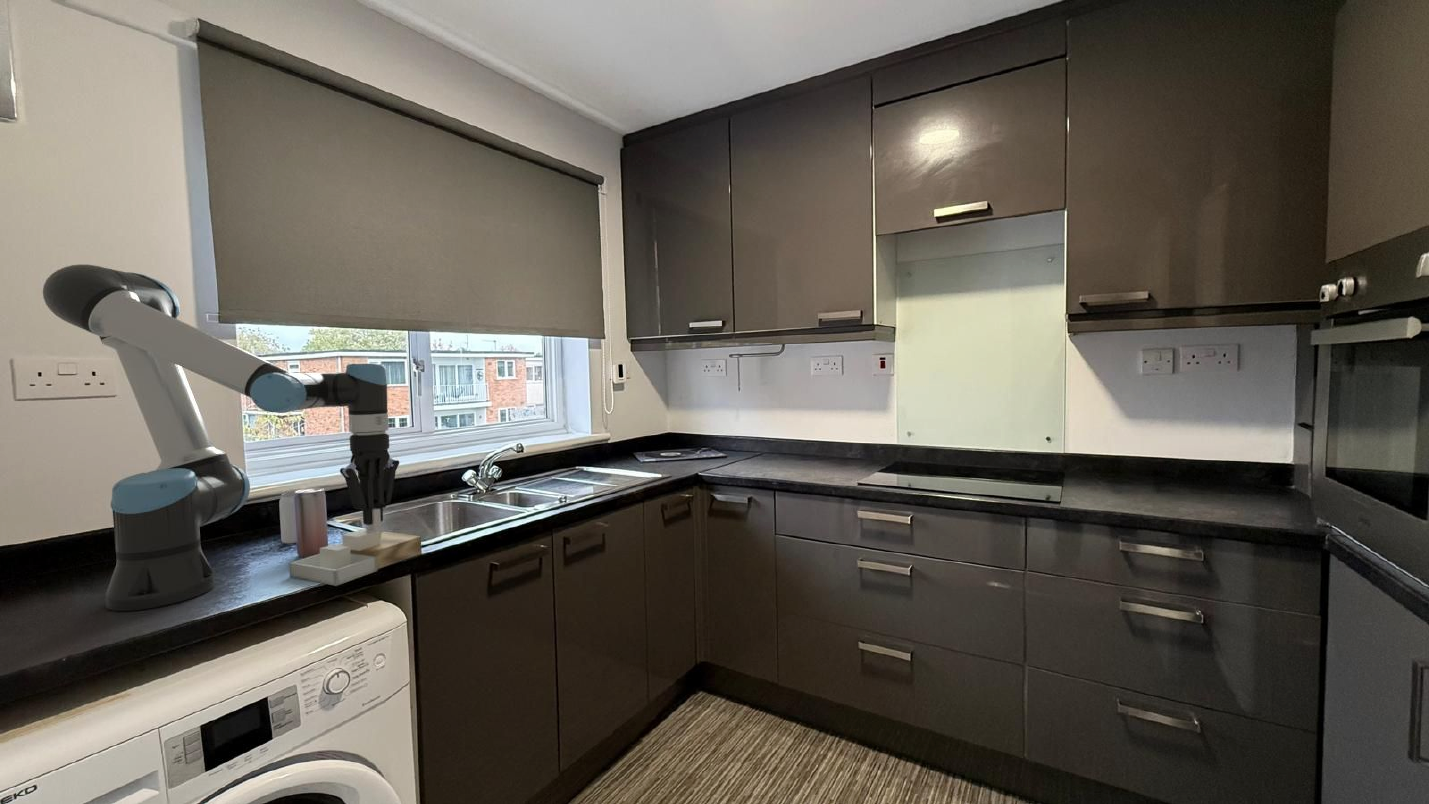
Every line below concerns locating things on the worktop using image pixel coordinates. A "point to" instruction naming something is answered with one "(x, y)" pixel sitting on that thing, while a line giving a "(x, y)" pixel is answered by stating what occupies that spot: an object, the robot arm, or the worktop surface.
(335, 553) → the tile front
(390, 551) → the board
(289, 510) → the can
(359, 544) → the tile rear
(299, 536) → the beverage can
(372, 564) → the tray
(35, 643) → the worktop surface
